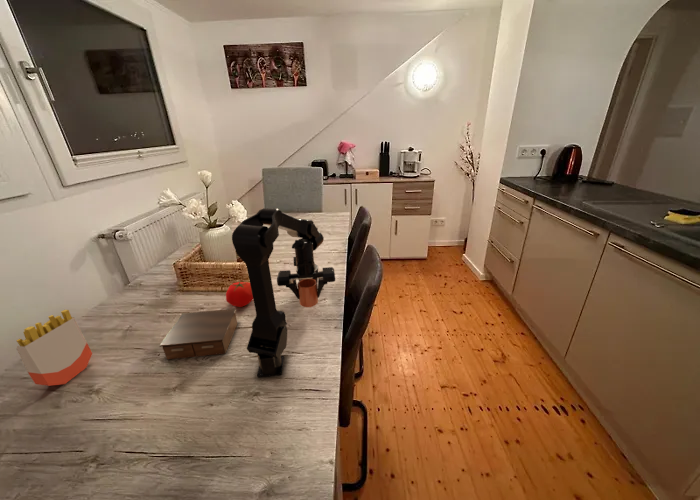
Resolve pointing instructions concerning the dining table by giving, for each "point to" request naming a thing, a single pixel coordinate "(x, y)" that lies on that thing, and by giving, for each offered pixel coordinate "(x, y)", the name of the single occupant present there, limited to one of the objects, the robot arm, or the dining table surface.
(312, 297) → the cup
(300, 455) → the dining table surface
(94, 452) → the dining table surface
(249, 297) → the tomato
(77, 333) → the french fries container
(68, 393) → the dining table surface
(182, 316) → the low cabinet
